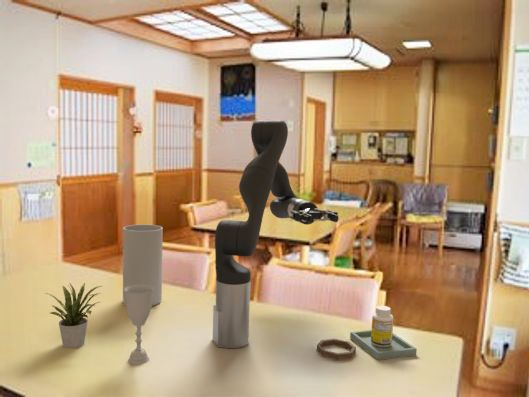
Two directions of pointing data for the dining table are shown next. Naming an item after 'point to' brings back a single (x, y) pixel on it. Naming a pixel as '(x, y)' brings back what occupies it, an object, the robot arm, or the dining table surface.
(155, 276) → the cylinder vase
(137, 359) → the chalice
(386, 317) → the supplement bottle
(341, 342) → the holder ring
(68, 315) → the house plant
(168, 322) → the dining table surface
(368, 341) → the tray
